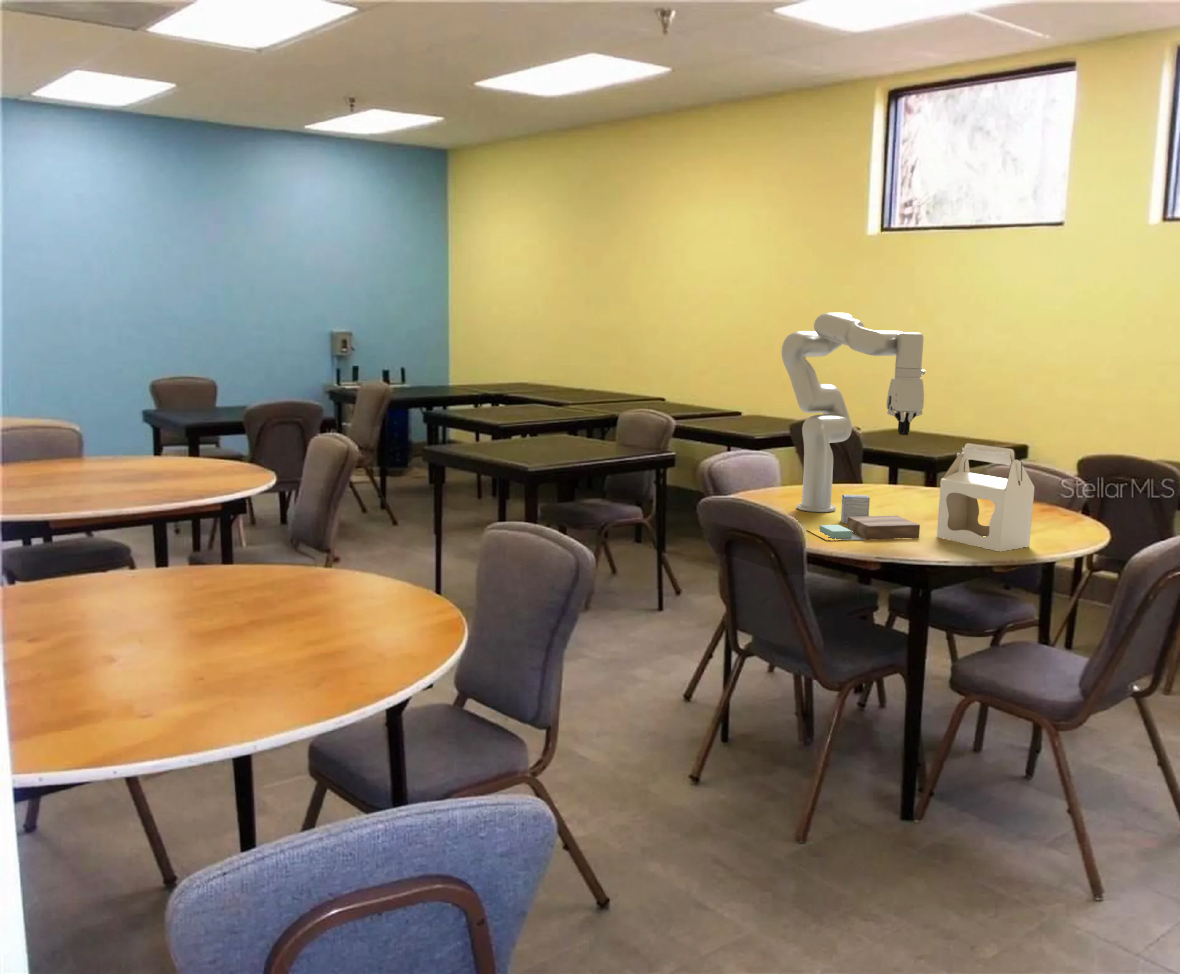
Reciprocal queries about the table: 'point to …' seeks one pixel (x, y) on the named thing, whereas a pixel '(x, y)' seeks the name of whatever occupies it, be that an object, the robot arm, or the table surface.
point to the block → (836, 531)
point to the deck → (883, 527)
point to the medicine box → (854, 506)
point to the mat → (854, 537)
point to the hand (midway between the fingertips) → (903, 434)
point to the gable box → (1007, 495)
